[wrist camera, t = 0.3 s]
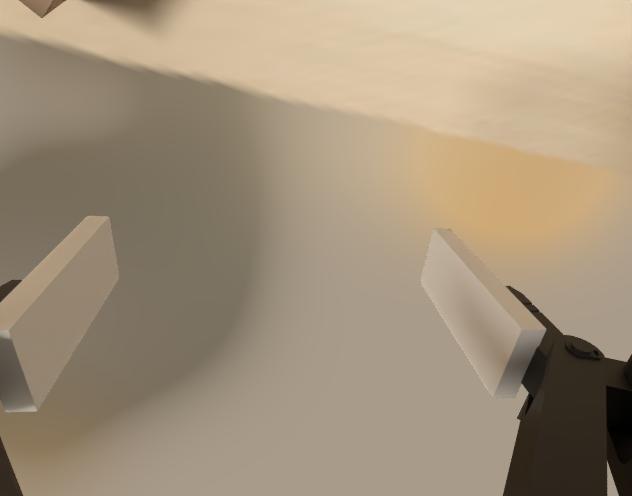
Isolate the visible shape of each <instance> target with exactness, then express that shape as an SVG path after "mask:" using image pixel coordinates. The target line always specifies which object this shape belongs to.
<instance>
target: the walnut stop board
mask: <svg viewBox="0 0 632 496" xmlns="http://www.w3.org/2000/svg"><path fill="white" fill-rule="evenodd" d="M19 1H21V2H22V3H23V4H24V5H26V6H27V7H28V8H29V9H31V10H32V11H33V12H35V13H36V14H37V15H38V16H40V17H41V18H43V17H44V16H45V15H47V14H48V13H49V12H51V11H52V10H53V9H55V8H56V7H57V6H59V5H60V4H61V3H63V2H64V1H66V0H19Z"/></svg>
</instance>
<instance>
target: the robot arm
mask: <svg viewBox="0 0 632 496" xmlns="http://www.w3.org/2000/svg"><path fill="white" fill-rule="evenodd" d="M118 279H119V274H118V267H117V261H116V256H115V250H114V244H113V238H112V232H111V226H110V220H109V217H103V216H87V217H86V218H85V219H84V220H83V221H82V222H81V223H80V224H79V225H78V226H77V227H76V228H75V229H74V230H73V231H72V232H71V233H70V234H69V235H68V236H67V237H66V238H65V239H64V240H63V241H62V242H61V243H60V244H59V245H58V246H57V247H56V248H55V249H54V250H53V251H52V252H51V253H50V254H49V255H48V256H47V257H46V258H45V259H44V260H43V261H42V262H41V263H40V264H39V265H38V266H37V267H36V268H35V269H34V270H33V271H32V272H31V273H30V274H29V275H28V276H27V277H26V278H24V279H23V280H11V281H9V282H8V283H6V284H4V285H2V286H0V400H1V402H2V405H3V407H4V410H5V412H28V411H38V409H39V407H40V406H41V404H42V402H43V400H44V399H45V397H46V396H47V394H48V393H49V391H50V389H51V388H52V386H53V384H54V383H55V381H56V380H57V378H58V376H59V375H60V373H61V371H62V370H63V368H64V367H65V365H66V363H67V362H68V360H69V358H70V357H71V355H72V354H73V352H74V350H75V349H76V347H77V345H78V344H79V342H80V340H81V339H82V337H83V336H84V334H85V332H86V331H87V329H88V328H89V326H90V324H91V323H92V321H93V319H94V318H95V316H96V315H97V313H98V311H99V310H100V308H101V306H102V305H103V303H104V302H105V300H106V298H107V297H108V295H109V293H110V292H111V290H112V289H113V287H114V285H115V284H116V282H117V280H118ZM420 283H421V285H422V286H423V288H424V289H425V291H426V293H427V294H428V296H429V297H430V299H431V301H432V302H433V304H434V305H435V307H436V309H437V310H438V312H439V313H440V315H441V317H442V318H443V320H444V321H445V323H446V324H447V326H448V328H449V329H450V331H451V333H452V334H453V336H454V337H455V339H456V340H457V342H458V344H459V345H460V347H461V348H462V350H463V352H464V353H465V355H466V357H467V358H468V360H469V361H470V363H471V364H472V366H473V368H474V369H475V371H476V372H477V374H478V376H479V377H480V379H481V381H482V382H483V383H484V385H485V387H486V388H487V390H488V392H489V393H490V395H491V396H492V398H514V397H515V396H516V394H517V392H518V390H519V388H520V386H521V384H523V385H524V387H525V388H526V390H527V391H528V392H529V394H528V396H527V399H526V400H525V403H524V405H523V407H522V409H521V411H520V413H519V415H518V417H517V419H519V420H521V421H520V425H519V430H518V434H517V438H516V442H515V446H514V451H513V455H512V459H511V463H510V468H509V472H508V476H507V480H506V484H505V489H504V493H503V496H607V461H608V464H609V467H610V470H611V473H612V476H613V479H614V482H615V485H616V488H617V491H618V494H619V496H632V355H631V356H630V358H629V360H628V362H624V361H619V360H614V359H609V358H605V357H604V355H603V353H602V352H601V351H600V350H599V349H598V348H596V347H595V346H594V345H592V344H591V343H589V342H587V341H585V340H583V339H581V338H578V337H574V336H569V335H563V334H562V333H561V332H560V331H559V330H558V329H557V328H556V327H555V326H554V325H553V324H552V323H551V322H550V321H549V320H548V319H547V318H546V317H545V316H544V315H543V314H542V313H540V312H539V310H538V309H537V308H536V307H535V306H534V305H532V303H531V302H530V301H529V300H528V299H527V298H526V297H525V296H524V295H523V294H522V293H520V292H519V291H517V290H515V289H514V288H512V287H511V286H505V285H504V284H503V283H502V282H501V281H500V280H499V279H498V278H497V277H496V276H495V275H494V274H493V273H492V272H491V271H490V270H489V269H488V268H487V267H486V266H485V264H483V262H482V261H481V260H480V259H479V258H478V257H477V256H476V255H475V254H474V253H473V252H472V251H471V250H470V249H469V248H468V247H467V246H466V245H465V244H464V243H463V242H462V240H461V239H460V238H458V236H457V235H456V234H455V233H454V232H453V231H452V230H451V229H437V228H434V229H433V233H432V237H431V241H430V245H429V249H428V253H427V257H426V261H425V265H424V268H423V273H422V276H421V281H420ZM0 496H23V494H22V491H21V489H20V486H19V484H18V481H17V479H16V476H15V473H14V471H13V468H12V466H11V463H10V461H9V458H8V456H7V453H6V450H5V448H4V445H3V443H2V441H1V438H0Z"/></svg>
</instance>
